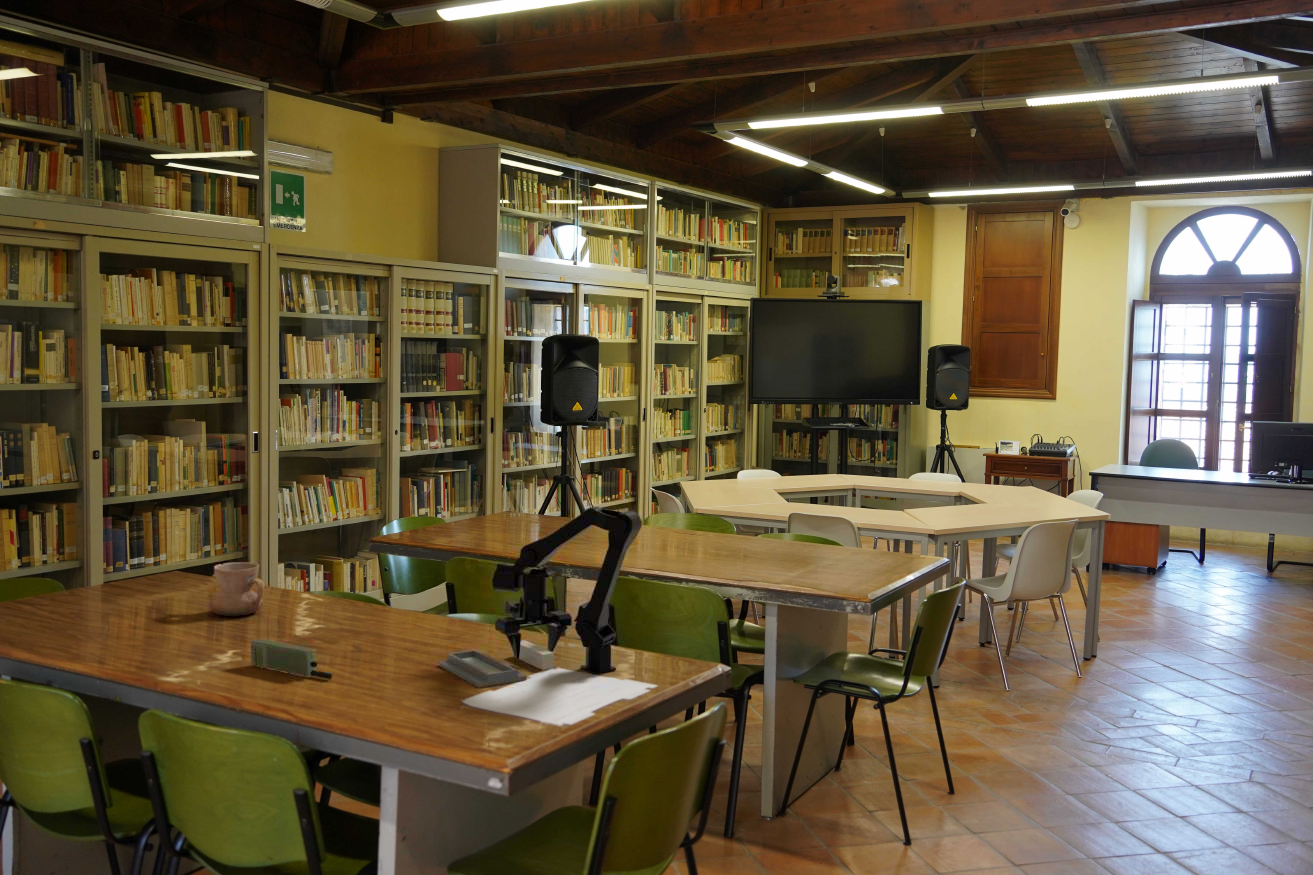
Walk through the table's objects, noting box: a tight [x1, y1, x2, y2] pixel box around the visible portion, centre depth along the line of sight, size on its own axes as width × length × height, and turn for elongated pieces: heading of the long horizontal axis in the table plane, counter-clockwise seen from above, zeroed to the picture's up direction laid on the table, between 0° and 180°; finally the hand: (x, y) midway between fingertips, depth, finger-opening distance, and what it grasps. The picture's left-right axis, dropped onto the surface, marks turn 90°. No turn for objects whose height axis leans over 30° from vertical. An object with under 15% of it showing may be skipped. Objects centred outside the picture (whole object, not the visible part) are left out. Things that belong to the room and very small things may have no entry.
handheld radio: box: [250, 638, 333, 680], centre depth 247 cm, size 7×3×25 cm
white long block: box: [513, 640, 555, 671], centre depth 261 cm, size 15×3×4 cm, turn 35°
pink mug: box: [208, 561, 265, 617], centre depth 307 cm, size 18×14×14 cm
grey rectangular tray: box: [438, 649, 527, 689], centre depth 250 cm, size 22×12×3 cm, turn 35°
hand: (533, 656), depth 261 cm, fingers open, 9 cm apart
